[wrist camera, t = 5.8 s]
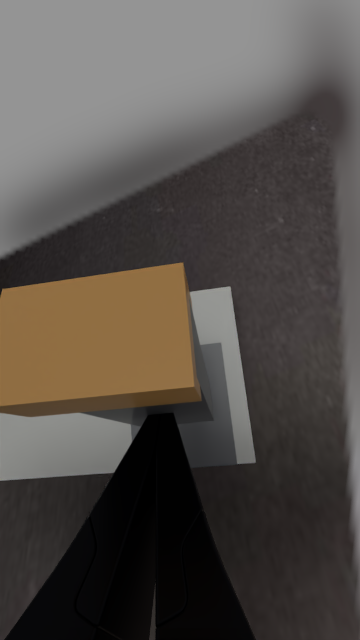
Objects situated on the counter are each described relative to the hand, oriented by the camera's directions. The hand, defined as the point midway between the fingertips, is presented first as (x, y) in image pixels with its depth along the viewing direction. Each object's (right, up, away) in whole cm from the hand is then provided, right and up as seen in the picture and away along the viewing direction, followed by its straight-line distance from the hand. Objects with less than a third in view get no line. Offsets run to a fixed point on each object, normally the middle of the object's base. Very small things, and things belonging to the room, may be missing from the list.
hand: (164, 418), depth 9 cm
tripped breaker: (0, -1, +4) cm, 4 cm away
